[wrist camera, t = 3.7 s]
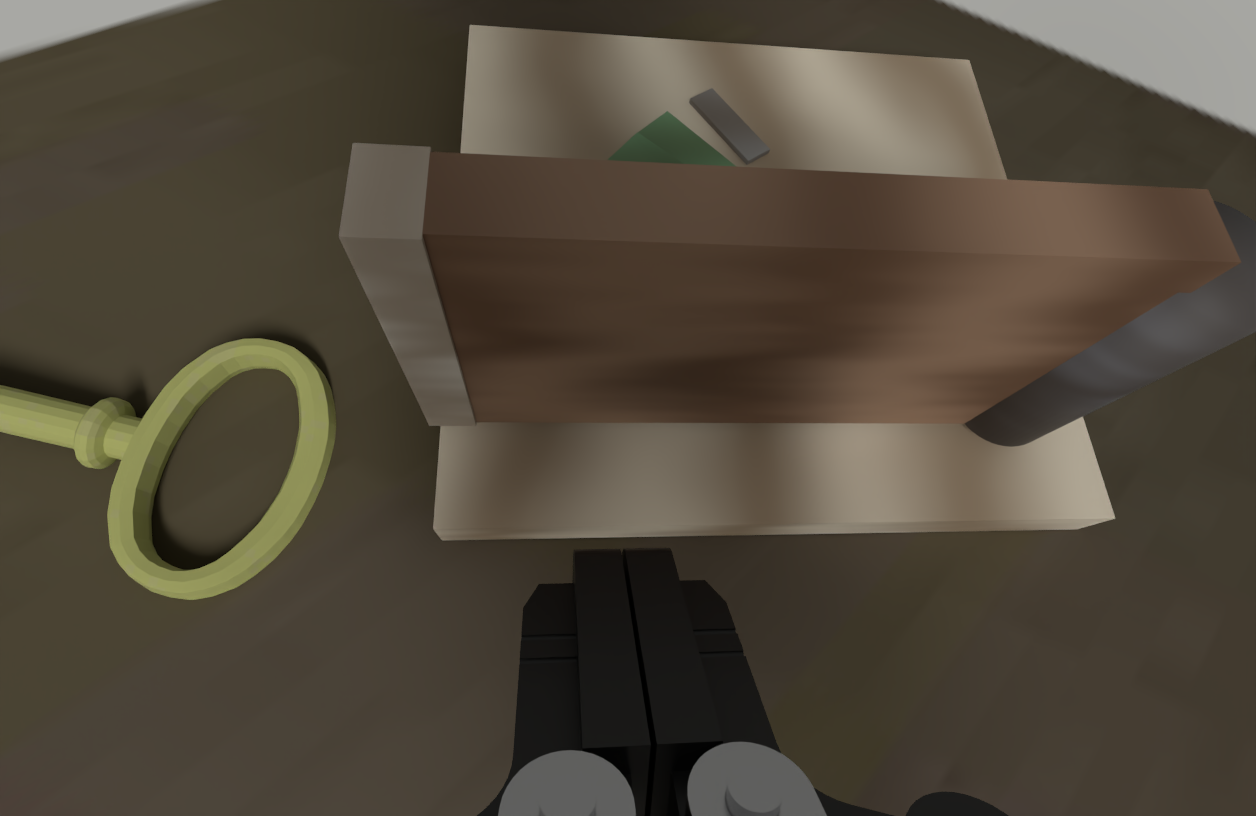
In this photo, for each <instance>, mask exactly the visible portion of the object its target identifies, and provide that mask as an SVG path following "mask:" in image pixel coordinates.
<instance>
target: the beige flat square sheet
mask: <svg viewBox="0 0 1256 816" xmlns="http://www.w3.org/2000/svg"><path fill="white" fill-rule="evenodd" d="M460 153H469V154H489V155H510V156H530V157H551V158H572V159H592V160H613V161H633V162H654V163H674V164H695V165H716V166H736V167H757V168H777V169H798V170H819V171H839V172H860V173H880V174H901V175H921V176H942V177H963V178H983V179H1004V180H1007V177H1006V174H1005V171H1004V168H1003V165H1002V162H1001V159H1000V155H999V152H998V149H997V146H996V143H995V140H994V137H993V133H992V130H991V127H990V124H989V121H988V118H987V115H986V111H985V108H984V105H983V102H982V99H981V96H980V93H979V90H978V86H977V83H976V80H975V77H974V74H973V71H972V68H971V64H970V61H969V60H961V59H947V58H933V57H919V56H905V55H890V54H876V53H862V52H848V51H834V50H820V49H805V48H791V47H777V46H763V45H749V44H735V43H720V42H706V41H692V40H678V39H664V38H650V37H635V36H621V35H607V34H593V33H579V32H565V31H551V30H536V29H522V28H508V27H494V26H480V25H470V28H469V41H468V55H467V69H466V83H465V97H464V110H463V124H462V138H461V152H460ZM1112 519H1115V516H1114V513H1113V510H1112V507H1111V504H1110V500H1109V497H1108V494H1107V491H1106V488H1105V485H1104V482H1103V478H1102V475H1101V472H1100V469H1099V466H1098V463H1097V460H1096V456H1095V453H1094V450H1093V447H1092V444H1091V441H1090V438H1089V435H1088V431H1087V428H1086V425H1085V422H1084V419H1083V417H1081V418H1079V419H1077V420H1075V421H1073V422H1071V423H1069V424H1067V425H1064V426H1062V427H1060V428H1058V429H1056V430H1054V431H1052V432H1050V433H1048V434H1046V435H1044V436H1042V437H1040V438H1038V439H1036V440H1034V441H1032V442H1030V443H1027V444H1025V445H1021V446H1014V447H1008V446H1001V445H997V444H994V443H991V442H989V441H986V440H984V439H983V438H981V437H979V436H978V435H976V434H975V433H974V432H972V431H971V430H970V429H969V428H968V427H967V426H966V425H965V424H908V423H524V422H477V423H476V426H441V428H440V442H439V456H438V469H437V483H436V497H435V511H434V525H433V529H434V531H435V532H436V533H437V535H438V536H439V537H440V538H441V540H494V539H551V538H609V537H666V536H723V535H780V534H837V533H894V532H951V531H1008V530H1065V529H1080V528H1083V527H1087V526H1090V525H1094V524H1097V523H1101V522H1104V521H1108V520H1112Z"/></svg>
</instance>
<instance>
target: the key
mask: <svg viewBox="0 0 1256 816" xmlns="http://www.w3.org/2000/svg"><path fill="white" fill-rule="evenodd" d="M255 368H270V369H278V370H280V371H282V372H284V373H285V374H286V375H287V376H288V377H289V378H290V379H291V380H292V382H293V384H294V385H295V387H296V391H297V396H298V405H299V432H298V438H297V443H296V448H295V453H294V457H293V460H292V463H291V465H290V468H289V471H288V473H287V476H286V478H285V480H284V482H283V485H282V487H281V489H280V491H279V493H278V495H277V496H276V498H275V499H274V501H273V503H272V504H271V506H270V507H269V509H268V510H267V512H266V513H265V515H264V516H263V518H262V519H261V521H260V522H259V523H258V524H257V525H256V527H255V528H254V529H253V530H252V531H251V532H250V533H249V534H248V535H247V536H246V537H245V538H244V539H243V540H242V541H240V542H239V543H238V544H237V545H236V546H235V547H234V548H233V549H231V550H230V551H229V552H228V553H226V554H225V555H224V556H222V557H221V558H219V559H218V560H217V561H215V562H213V563H210V564H208V565H206V566H203V567H201V568H198V569H193V570H183V569H180V568H177V567H174V566H172V565H170V564H168V563H166V562H165V561H163V560H162V559H161V558H160V557H159V556H158V555H157V553H156V550H155V548H154V546H153V543H152V522H151V517H152V510H153V504H154V497H155V494H156V491H157V488H158V485H159V482H160V479H161V476H162V473H163V470H164V468H165V466H166V463H167V461H168V459H169V456H170V454H171V452H172V450H173V448H174V446H175V444H176V443H177V441H178V439H179V437H180V435H181V434H182V432H183V430H184V429H185V427H186V426H187V424H188V423H189V421H190V420H191V418H192V417H193V415H194V414H195V412H196V411H197V409H198V408H199V407H200V406H201V405H202V404H203V403H204V402H205V401H206V400H207V398H208V397H209V396H210V395H211V394H212V393H213V392H214V391H216V390H217V389H218V388H219V387H220V386H222V385H223V384H224V383H225V382H226V381H228V380H229V379H230V378H231V377H233V376H235V375H237V374H239V373H241V372H243V371H247V370H251V369H255ZM0 432H3V433H8V434H12V435H16V436H21V437H25V438H29V439H34V440H38V441H42V442H47V443H51V444H55V445H60V446H64V447H69V448H73V449H74V450H75V454H76V458H77V459H78V461H79V462H80V463H81V464H82V465H84V466H86V467H89V468H96V469H104V468H106V467H108V466H110V465H111V464H113V463H114V462H115V461H116V460H117V459H121V463H120V466H119V468H118V471H117V474H116V477H115V480H114V482H113V485H112V488H111V495H110V501H109V507H108V513H107V517H108V528H109V540H110V548H111V550H112V552H113V554H114V556H115V558H116V560H117V562H118V563H119V564H120V566H121V567H122V568H123V569H124V571H125V572H126V573H127V574H128V575H129V576H130V577H131V578H132V579H134V580H135V581H136V582H138V583H139V584H141V585H142V586H144V587H145V588H147V589H148V590H150V591H152V592H155V593H158V594H161V595H165V596H168V597H172V598H180V599H187V600H195V599H200V598H206V597H212V596H215V595H218V594H220V593H223V592H226V591H228V590H231V589H234V588H236V587H238V586H239V585H241V584H243V583H244V582H246V581H247V580H249V579H250V578H252V577H254V576H255V575H256V574H257V573H259V572H260V571H261V570H262V569H263V568H265V567H266V566H267V565H268V564H269V563H270V562H272V561H273V560H274V559H275V558H276V557H277V556H278V554H279V553H280V552H281V551H282V550H283V549H284V548H285V547H286V546H287V545H288V544H289V542H290V541H291V540H292V538H293V537H294V536H295V534H296V533H297V532H298V530H299V529H300V527H301V526H302V524H303V522H304V521H305V519H306V517H307V515H308V513H309V511H310V510H311V508H312V506H313V504H314V502H315V500H316V497H317V495H318V493H319V491H320V489H321V486H322V484H323V481H324V478H325V475H326V472H327V469H328V466H329V463H330V459H331V455H332V451H333V447H334V442H335V433H336V414H335V405H334V400H333V395H332V390H331V388H330V386H329V383H328V381H327V379H326V377H325V375H324V374H323V372H322V371H321V370H320V369H319V368H318V367H317V365H316V364H315V363H314V362H313V361H312V360H310V359H309V358H308V357H306V356H305V355H303V354H302V353H301V352H299V351H298V350H297V349H295V348H294V347H292V346H289V345H286V344H283V343H281V342H278V341H273V340H267V339H262V338H254V339H240V340H236V341H232V342H227V343H225V344H222V345H220V346H217V347H214V348H212V349H210V350H208V351H207V352H205V353H204V354H203V355H201V356H200V357H198V358H197V359H195V360H194V361H193V362H191V363H190V364H188V365H187V366H185V367H184V368H183V369H182V370H181V371H180V372H179V373H178V374H177V375H176V376H175V377H174V378H173V379H172V380H171V381H170V382H169V383H168V384H167V385H166V386H165V387H164V388H163V390H162V391H161V393H160V394H159V395H158V397H157V398H156V399H155V401H154V402H153V404H152V405H151V406H150V408H149V409H148V411H147V412H146V414H145V415H144V417H143V419H141V418H137V417H136V413H135V410H134V408H133V407H132V405H131V404H130V403H129V402H127V401H125V400H122V399H119V398H113V397H110V398H106V399H103V400H100V401H99V402H97V403H96V404H95V405H93V406H92V407H91V406H87V405H83V404H78V403H74V402H70V401H66V400H62V399H57V398H53V397H49V396H45V395H41V394H36V393H32V392H28V391H24V390H20V389H15V388H11V387H7V386H3V385H0Z"/></svg>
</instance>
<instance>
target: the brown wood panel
mask: <svg viewBox="0 0 1256 816" xmlns="http://www.w3.org/2000/svg"><path fill="white" fill-rule="evenodd" d="M339 239H340V241H341V243H342V245H343V247H344V249H345V251H346V253H347V255H348V257H349V260H350V262H351V264H352V266H353V268H354V270H355V272H356V274H357V276H358V278H359V280H360V282H361V285H362V287H363V289H364V291H365V293H366V295H367V297H368V299H369V301H370V303H371V305H372V307H373V310H374V312H375V314H376V316H377V318H378V320H379V322H380V324H381V326H382V328H383V330H384V332H385V335H386V337H387V339H388V341H389V343H390V345H391V347H392V349H393V351H394V353H395V355H396V357H397V360H398V362H399V364H400V366H401V368H402V370H403V372H404V374H405V376H406V378H407V380H408V382H409V385H410V387H411V389H412V391H413V393H414V395H415V397H416V399H417V401H418V403H419V405H420V407H421V410H422V412H423V414H424V416H425V418H426V420H427V422H428V424H429V426H476V423H477V422H524V423H908V424H965V425H966V426H967V427H968V428H969V429H970V430H971V431H972V432H974V433H975V434H976V435H978V436H979V437H981V438H983V439H984V440H986V441H989V442H991V443H994V444H997V445H1001V446H1008V447H1014V446H1021V445H1025V444H1027V443H1030V442H1032V441H1034V440H1036V439H1038V438H1040V437H1042V436H1044V435H1046V434H1048V433H1050V432H1052V431H1054V430H1056V429H1058V428H1060V427H1062V426H1064V425H1067V424H1069V423H1071V422H1073V421H1075V420H1077V419H1079V418H1081V417H1083V416H1085V415H1087V414H1089V413H1091V412H1093V411H1095V410H1097V409H1099V408H1101V407H1103V406H1105V405H1107V404H1109V403H1111V402H1113V401H1115V400H1118V399H1120V398H1122V397H1124V396H1126V395H1128V394H1130V393H1132V392H1134V391H1136V390H1138V389H1140V388H1142V387H1144V386H1146V385H1148V384H1150V383H1152V382H1154V381H1156V380H1158V379H1160V378H1162V377H1164V376H1166V375H1168V374H1171V373H1173V372H1175V371H1177V370H1179V369H1181V368H1183V367H1185V366H1187V365H1189V364H1191V363H1193V362H1195V361H1197V360H1199V359H1201V358H1203V357H1205V356H1207V355H1209V354H1211V353H1213V352H1215V351H1217V350H1219V349H1222V348H1224V347H1226V346H1228V345H1230V344H1232V343H1234V342H1236V341H1238V340H1240V339H1242V338H1244V337H1246V336H1248V335H1250V334H1252V333H1254V332H1256V222H1255V221H1253V220H1252V219H1251V218H1249V217H1248V216H1246V215H1244V214H1243V213H1241V212H1240V211H1238V210H1236V209H1234V208H1232V207H1230V206H1227V205H1225V204H1222V203H1219V202H1216V201H1213V199H1212V197H1211V195H1210V193H1209V190H1208V189H1189V188H1168V187H1148V186H1127V185H1107V184H1086V183H1065V182H1045V181H1024V180H1004V179H983V178H963V177H942V176H921V175H901V174H880V173H860V172H839V171H819V170H798V169H777V168H757V167H736V166H716V165H695V164H674V163H654V162H633V161H613V160H592V159H572V158H551V157H530V156H510V155H489V154H469V153H448V152H432V151H431V147H425V146H405V145H384V144H364V143H353V145H352V152H351V158H350V165H349V172H348V178H347V185H346V191H345V198H344V205H343V211H342V218H341V224H340V231H339Z"/></svg>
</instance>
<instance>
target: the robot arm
mask: <svg viewBox="0 0 1256 816" xmlns="http://www.w3.org/2000/svg"><path fill="white" fill-rule="evenodd" d="M477 816H893V815H889V814H885V813H881V812H877V811H873V810H869V809H866V808H862V807H858V806H854V805H850V804H847V803H844V802H841V801H838V800H836V799H833V798H831V797H829V796H827V795H825V794H823V793H822V792H820V791H818V790H817V789H815V788H813V786H812V784H811V783H810V781H809V779H808V778H807V777H806V775H805V774H804V773H803V771H802V770H801V769H800V768H799V767H798V766H797V765H796V764H795V763H794V762H792V761H791V760H790V759H788V758H787V757H786V756H784V755H783V754H781V752H780V750H779V747H778V745H777V743H776V740H775V737H774V734H773V732H772V729H771V726H770V723H769V721H768V718H767V715H766V712H765V709H764V707H763V704H762V701H761V698H760V695H759V693H758V690H757V687H756V684H755V682H754V679H753V676H752V673H751V670H750V668H749V665H748V662H747V659H746V656H744V655H743V648H742V645H741V642H740V640H739V637H738V634H736V632H735V626H734V623H733V620H732V617H731V615H730V612H729V609H728V606H727V603H726V602H725V601H724V600H723V599H722V598H721V596H720V595H719V594H718V593H717V592H716V591H715V590H714V589H713V588H712V587H711V586H710V585H709V584H708V583H707V582H706V581H705V580H693V581H680V580H679V577H678V573H677V569H676V566H675V562H674V558H673V555H672V551H671V549H670V548H638V549H623V551H622V554H621V550H620V549H588V550H574V552H573V583H564V584H539V585H538V587H537V588H536V590H535V591H534V593H533V594H532V596H531V597H530V599H529V600H528V602H527V603H526V605H525V606H524V608H523V621H522V639H521V651H520V665H519V680H518V694H517V709H516V724H515V738H514V753H513V761H512V767H511V770H510V773H509V776H508V779H507V781H506V782H505V784H504V786H503V788H502V790H501V791H500V792H499V794H498V795H497V797H496V798H495V799H494V800H493V801H492V802H491V803H490V805H489V806H488V807H487V808H486V809H484V810H483V811H482V812H481V813H479V814H478V815H477ZM906 816H1008V815H1007V814H1005V813H1004V812H1002V811H1000V810H999V809H997V808H995V807H994V806H992V805H990V804H988V803H986V802H984V801H982V800H980V799H977V798H974V797H971V796H968V795H965V794H960V793H955V792H937V793H931V794H928V795H925V796H923V797H921V798H920V799H918V800H916V801H915V802H914V804H913V805H912V806H911V807H910V808H909V810H908V812H907V814H906Z"/></svg>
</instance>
